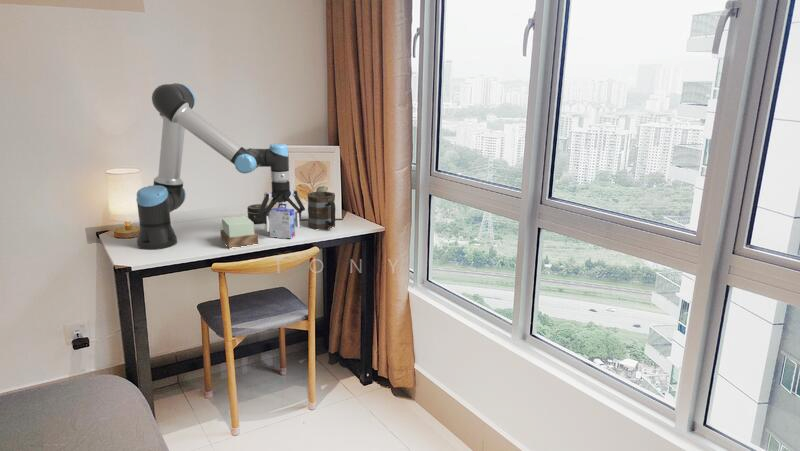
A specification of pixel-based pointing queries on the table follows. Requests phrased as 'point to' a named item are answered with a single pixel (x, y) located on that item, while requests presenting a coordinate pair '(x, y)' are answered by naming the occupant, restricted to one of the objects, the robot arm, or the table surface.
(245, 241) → the walnut base block
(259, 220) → the jar
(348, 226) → the table surface
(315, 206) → the mug
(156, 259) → the table surface
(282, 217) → the ink cartridge box
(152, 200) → the robot arm
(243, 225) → the sage top block
